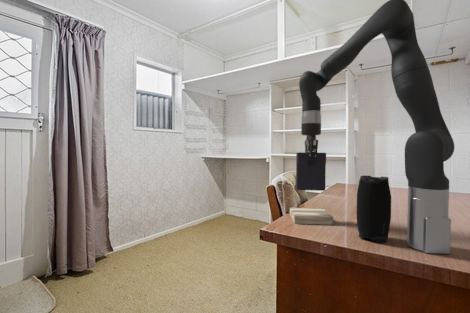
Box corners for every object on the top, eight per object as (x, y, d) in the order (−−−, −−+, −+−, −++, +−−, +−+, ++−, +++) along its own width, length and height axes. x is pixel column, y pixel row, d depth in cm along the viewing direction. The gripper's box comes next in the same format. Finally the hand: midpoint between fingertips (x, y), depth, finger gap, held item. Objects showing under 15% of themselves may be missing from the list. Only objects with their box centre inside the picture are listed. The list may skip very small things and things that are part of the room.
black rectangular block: (323, 189, 101) (323, 152, 101) (325, 190, 97) (326, 152, 97) (295, 188, 102) (296, 152, 102) (297, 190, 98) (297, 152, 98)
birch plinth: (332, 224, 92) (332, 216, 92) (294, 223, 93) (294, 215, 93) (322, 215, 106) (322, 208, 106) (289, 214, 107) (289, 207, 107)
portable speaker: (353, 233, 83) (354, 175, 82) (384, 235, 81) (385, 175, 80) (360, 242, 74) (361, 177, 74) (395, 245, 72) (396, 178, 72)
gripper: (325, 120, 91) (325, 167, 92) (316, 124, 106) (315, 164, 106) (305, 121, 92) (304, 166, 92) (298, 125, 106) (298, 164, 107)
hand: (310, 165), depth 99 cm, fingers closed on black rectangular block, 4 cm apart
